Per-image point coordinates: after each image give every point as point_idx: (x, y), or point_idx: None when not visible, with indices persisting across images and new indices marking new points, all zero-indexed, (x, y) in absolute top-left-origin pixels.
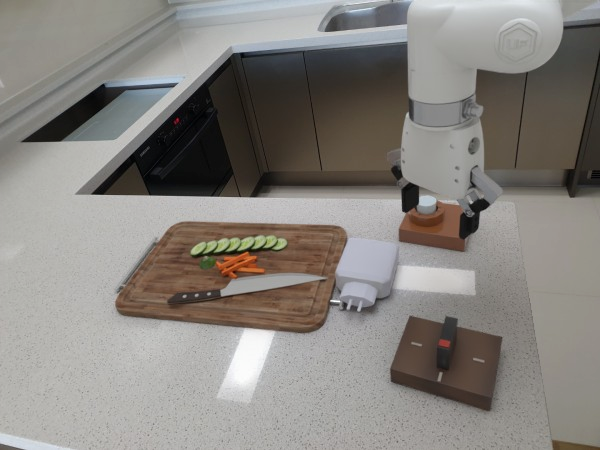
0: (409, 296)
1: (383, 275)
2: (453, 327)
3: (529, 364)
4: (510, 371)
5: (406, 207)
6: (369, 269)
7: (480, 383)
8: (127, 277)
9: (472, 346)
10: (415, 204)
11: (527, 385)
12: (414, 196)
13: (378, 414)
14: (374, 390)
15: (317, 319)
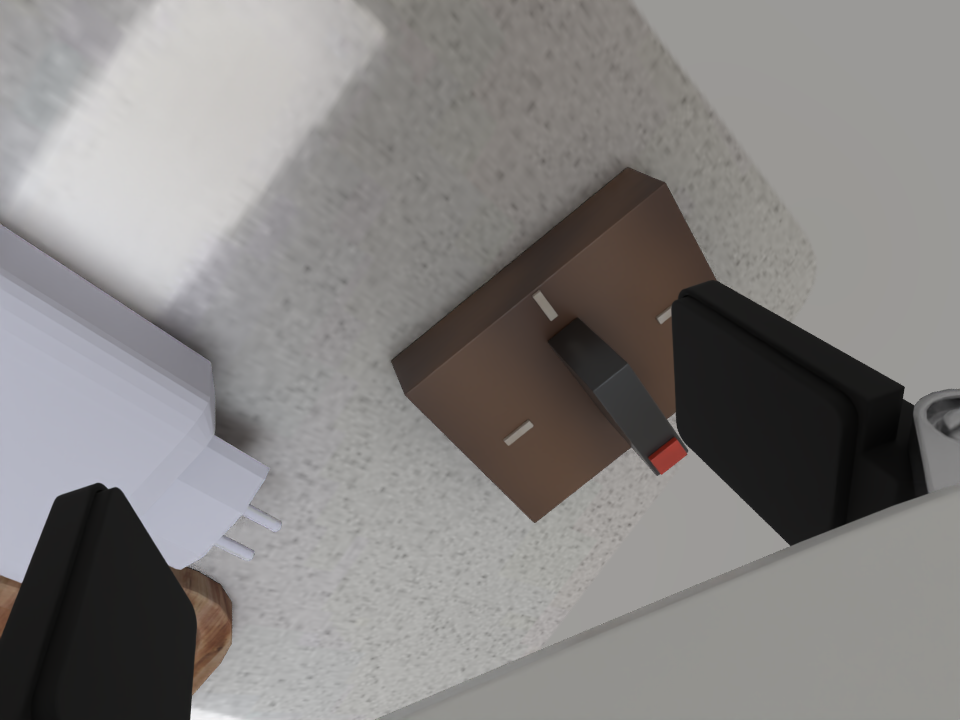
0: (244, 281)
1: (181, 428)
2: (642, 396)
3: (709, 129)
4: (686, 197)
5: (193, 662)
6: (108, 469)
7: None
8: None
9: (627, 292)
10: (136, 539)
11: (738, 191)
12: (126, 633)
13: (562, 537)
14: (508, 526)
15: (213, 618)
